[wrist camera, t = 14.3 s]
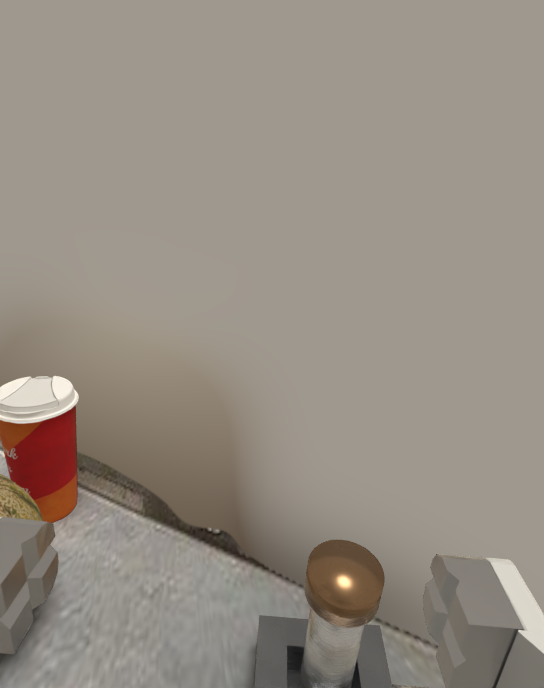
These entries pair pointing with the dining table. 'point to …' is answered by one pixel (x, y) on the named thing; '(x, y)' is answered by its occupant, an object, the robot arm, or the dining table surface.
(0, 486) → the cantaloupe
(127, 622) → the dining table surface
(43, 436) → the coffee cup
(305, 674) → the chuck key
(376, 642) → the block
